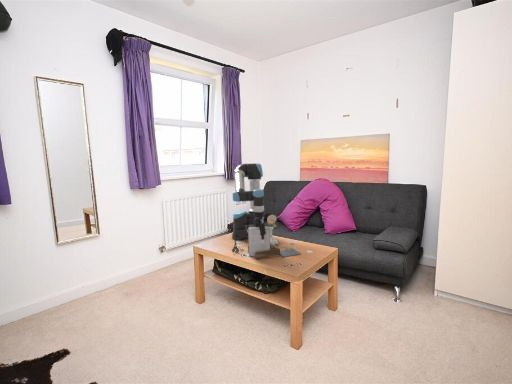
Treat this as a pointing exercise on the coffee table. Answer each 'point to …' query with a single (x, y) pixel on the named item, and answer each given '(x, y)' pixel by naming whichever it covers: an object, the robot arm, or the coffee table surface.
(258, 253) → the walnut shelf bay
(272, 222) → the flower in vase
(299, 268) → the coffee table surface
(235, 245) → the eiffel tower figurine
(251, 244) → the hard drive box
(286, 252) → the felt pad
